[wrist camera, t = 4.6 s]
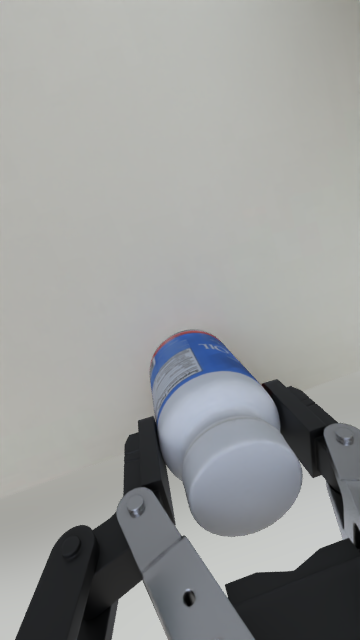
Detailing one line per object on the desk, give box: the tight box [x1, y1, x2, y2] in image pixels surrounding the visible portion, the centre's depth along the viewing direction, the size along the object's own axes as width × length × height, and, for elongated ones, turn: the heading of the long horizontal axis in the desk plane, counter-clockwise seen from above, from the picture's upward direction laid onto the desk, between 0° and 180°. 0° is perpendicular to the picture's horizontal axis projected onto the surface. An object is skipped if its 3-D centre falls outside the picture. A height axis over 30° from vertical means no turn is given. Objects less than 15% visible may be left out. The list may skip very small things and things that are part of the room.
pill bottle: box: [150, 330, 302, 537], centre depth 13 cm, size 6×5×10 cm
